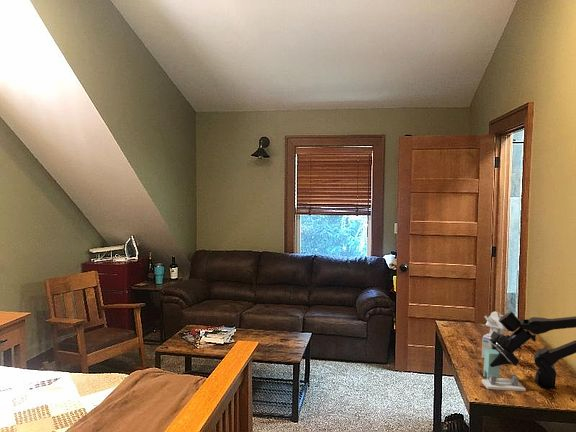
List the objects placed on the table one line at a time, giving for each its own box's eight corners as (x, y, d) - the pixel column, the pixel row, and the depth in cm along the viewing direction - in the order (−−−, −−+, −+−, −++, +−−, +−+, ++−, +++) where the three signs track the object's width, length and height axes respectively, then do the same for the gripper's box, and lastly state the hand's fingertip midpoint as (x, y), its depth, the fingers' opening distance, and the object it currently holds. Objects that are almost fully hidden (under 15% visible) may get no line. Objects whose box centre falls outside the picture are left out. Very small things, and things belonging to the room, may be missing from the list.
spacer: (494, 376, 202) (495, 349, 201) (498, 381, 197) (500, 354, 196) (483, 375, 202) (485, 349, 201) (487, 381, 197) (489, 353, 196)
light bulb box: (509, 360, 221) (510, 338, 220) (504, 364, 216) (505, 341, 215) (486, 354, 228) (487, 332, 227) (480, 357, 223) (482, 335, 222)
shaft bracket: (518, 383, 195) (519, 373, 195) (525, 391, 188) (526, 380, 188) (481, 381, 196) (482, 371, 196) (487, 388, 189) (488, 378, 189)
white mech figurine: (506, 353, 229) (509, 317, 228) (479, 346, 238) (481, 312, 237) (514, 347, 238) (516, 313, 237) (487, 340, 247) (489, 307, 246)
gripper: (495, 319, 206) (468, 342, 208) (512, 333, 188) (483, 358, 190) (512, 337, 206) (485, 360, 208) (531, 353, 188) (501, 378, 190)
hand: (488, 363), depth 199 cm, fingers closed on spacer, 5 cm apart
